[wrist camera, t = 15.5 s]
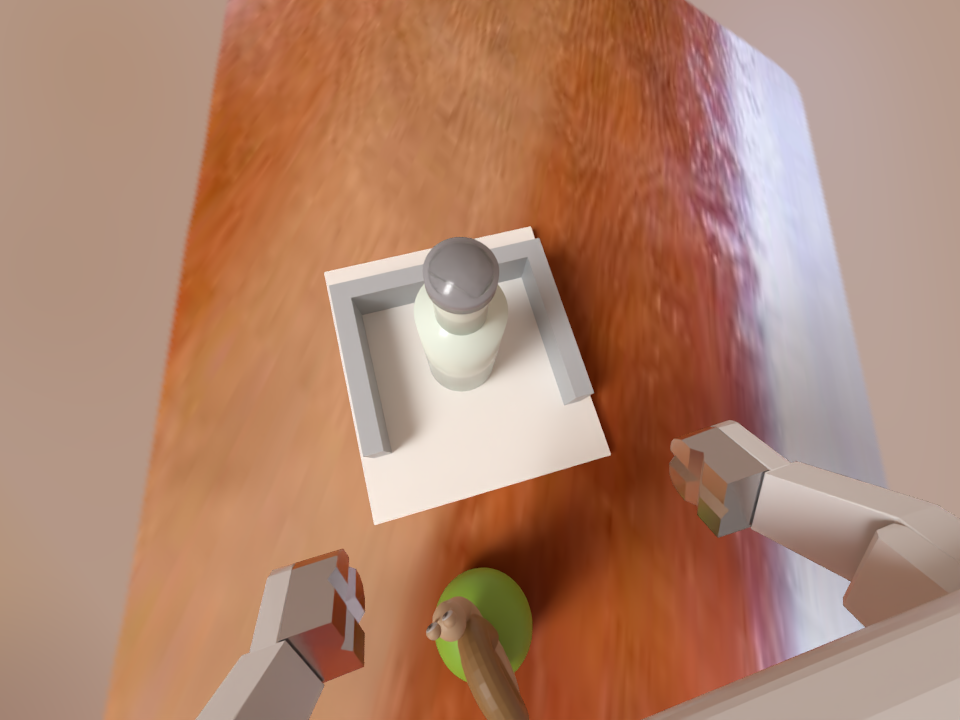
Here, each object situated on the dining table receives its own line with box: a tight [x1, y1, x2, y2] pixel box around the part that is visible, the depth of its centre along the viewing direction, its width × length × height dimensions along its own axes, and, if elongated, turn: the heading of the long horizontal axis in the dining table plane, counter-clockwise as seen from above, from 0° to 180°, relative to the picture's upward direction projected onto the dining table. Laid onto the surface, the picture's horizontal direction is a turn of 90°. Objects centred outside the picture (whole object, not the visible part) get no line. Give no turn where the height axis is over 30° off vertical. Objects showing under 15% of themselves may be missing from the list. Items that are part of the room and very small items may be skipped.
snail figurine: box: [426, 568, 533, 720], centre depth 19 cm, size 5×6×12 cm
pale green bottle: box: [414, 237, 508, 392], centre depth 22 cm, size 5×5×13 cm
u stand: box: [324, 226, 611, 525], centre depth 27 cm, size 18×16×4 cm
